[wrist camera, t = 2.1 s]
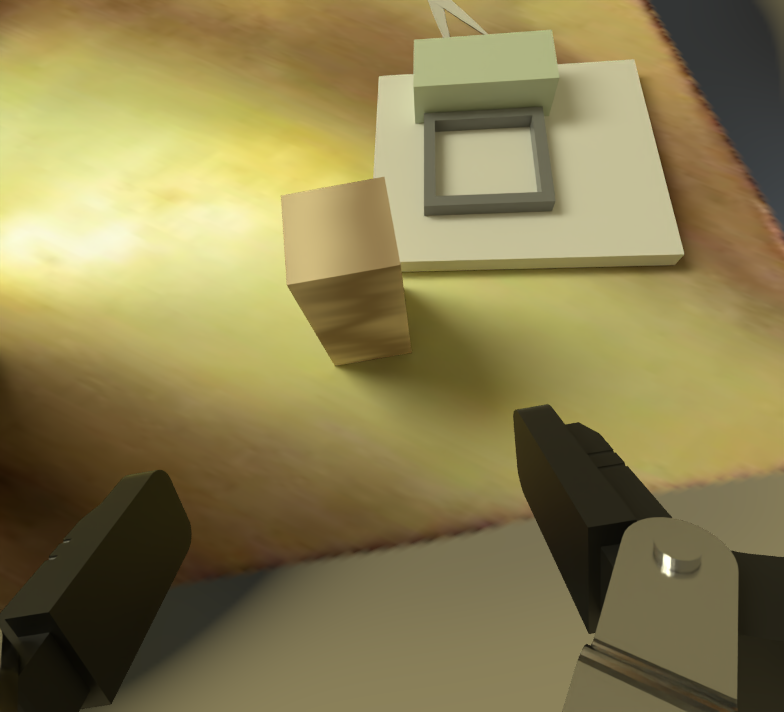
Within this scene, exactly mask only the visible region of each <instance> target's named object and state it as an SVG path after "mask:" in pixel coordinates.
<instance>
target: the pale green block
mask: <svg viewBox="0 0 784 712" xmlns="http://www.w3.org/2000/svg"><path fill="white" fill-rule="evenodd" d="M558 81H559V71H558V65H557V59H556V53H555V47H554V41H553V34H552V30H542V31H529V32H515V33H501V34H488V35H474V36H460V37H447V38H433V39H419V40H414V78H413V89H414V111H415V123H424V113H438V112H455V111H472V110H490V109H507V108H524V107H542V106H543V112H544V116H549V114H550V110H551V107H552V103H553V100H554V96H555V92H556V89H557V85H558Z"/></svg>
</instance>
